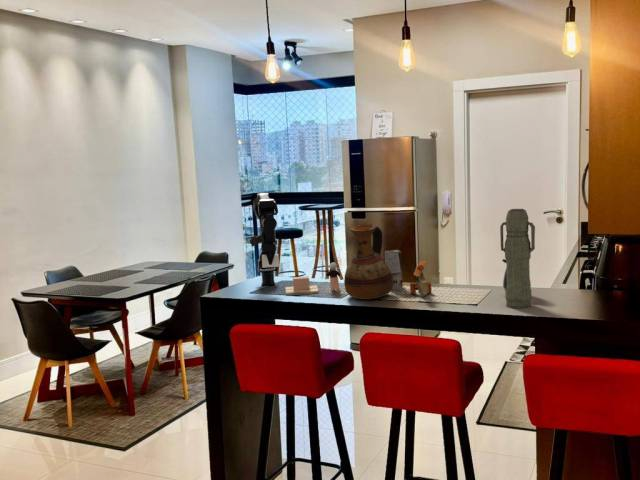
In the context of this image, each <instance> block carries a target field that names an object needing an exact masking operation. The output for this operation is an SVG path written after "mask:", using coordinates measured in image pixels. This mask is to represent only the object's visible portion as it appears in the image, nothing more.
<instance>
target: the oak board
mask: <svg viewBox="0 0 640 480" xmlns="http://www.w3.org/2000/svg"><path fill="white" fill-rule="evenodd" d="M309 285H310V284H309ZM313 293H315V294H319V287H318V285H317V284H311V285H310V289H308V290H294V288H293V285H292V286H285V296H298V295H299V296H302V295H312V294H313ZM313 295H314V294H313Z"/></svg>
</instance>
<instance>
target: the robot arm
mask: <svg viewBox="0 0 640 480" xmlns="http://www.w3.org/2000/svg"><path fill="white" fill-rule="evenodd" d="M256 195H257V196H256V197H255V198H254V199H253V212H255V217H256V218H257V220H258V221H259V231H260V234H259V235H253V236H251V238H250V239H248V240H249V244H250V245H251V247H255V246H256V245H259V244H261V245H260V249H261V253H260V255H259V257H258V259H257V270H258V271H257V272H258V273H259V274H260V273H261V285H260V286H262V287H263V286H276V281H275V274H274V273H275V272H278V271H279V267H265V268H262V255H267V259H268V262H269V265H272V262H273V259H274V255H275V254H276V253H277V252H276V251H277V248H278V240H277V237H276V228H277V227H278V222H277V220H276V218H275V216H277V215H278V214H279V209H278V203H277V202H276V201H275V199H274V198H271V197H269V193H267V192H260V193H257V194H256Z"/></svg>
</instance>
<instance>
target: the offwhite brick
mask: <svg viewBox="0 0 640 480" xmlns="http://www.w3.org/2000/svg"><path fill="white" fill-rule="evenodd" d="M265 267H278V268H279V267H280V260H279V253H275V255H274V259H273V262H272V265H269V262H268V259H267V255H262V268H265Z"/></svg>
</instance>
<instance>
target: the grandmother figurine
mask: <svg viewBox="0 0 640 480" xmlns="http://www.w3.org/2000/svg"><path fill="white" fill-rule="evenodd" d="M328 268H329V269H330V270H329V271H328V272H326V274H325V277H324V279H325V280H328V278H329V283H330V284H329V286H330V293H334V292H336V293H338V292H339V293H340V292H341V291H342V290H341V289H340V282H339V279H340V280H343V277H342V275H341V273H340V271H338V270H337V262H334V261H333V262H330V264H329V267H328Z"/></svg>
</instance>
